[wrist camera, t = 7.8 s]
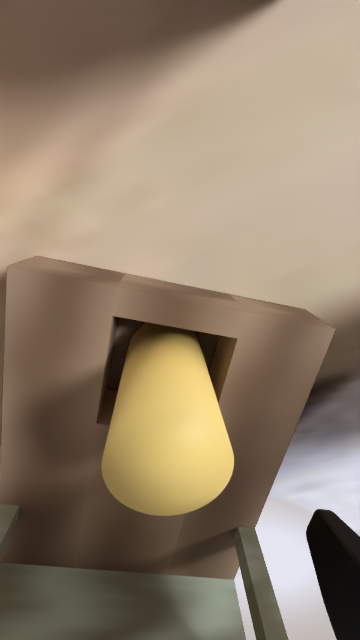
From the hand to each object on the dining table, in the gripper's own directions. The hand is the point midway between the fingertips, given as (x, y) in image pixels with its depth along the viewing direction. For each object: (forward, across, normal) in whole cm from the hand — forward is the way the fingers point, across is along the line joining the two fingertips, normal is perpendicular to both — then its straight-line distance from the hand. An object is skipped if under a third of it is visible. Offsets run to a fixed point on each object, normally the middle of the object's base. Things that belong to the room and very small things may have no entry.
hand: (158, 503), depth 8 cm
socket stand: (+9, 0, +5) cm, 10 cm away
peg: (+9, 0, 0) cm, 9 cm away
